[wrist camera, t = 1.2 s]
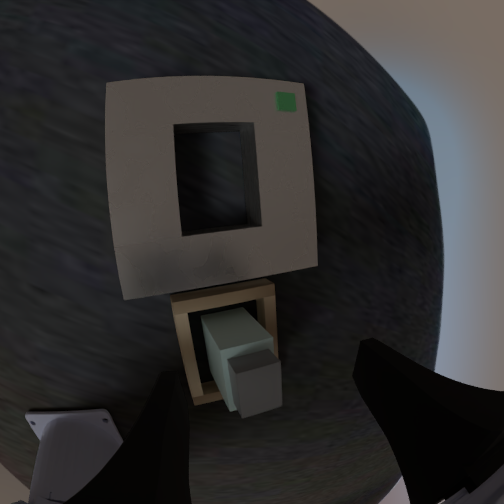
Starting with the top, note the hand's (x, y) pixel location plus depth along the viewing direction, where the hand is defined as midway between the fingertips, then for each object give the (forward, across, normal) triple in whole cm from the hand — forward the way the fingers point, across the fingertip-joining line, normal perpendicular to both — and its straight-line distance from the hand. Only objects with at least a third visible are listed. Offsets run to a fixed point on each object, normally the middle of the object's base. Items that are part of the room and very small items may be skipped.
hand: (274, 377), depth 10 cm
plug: (+9, +1, +5) cm, 10 cm away
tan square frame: (+9, +1, +5) cm, 10 cm away
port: (+10, +2, -6) cm, 12 cm away
